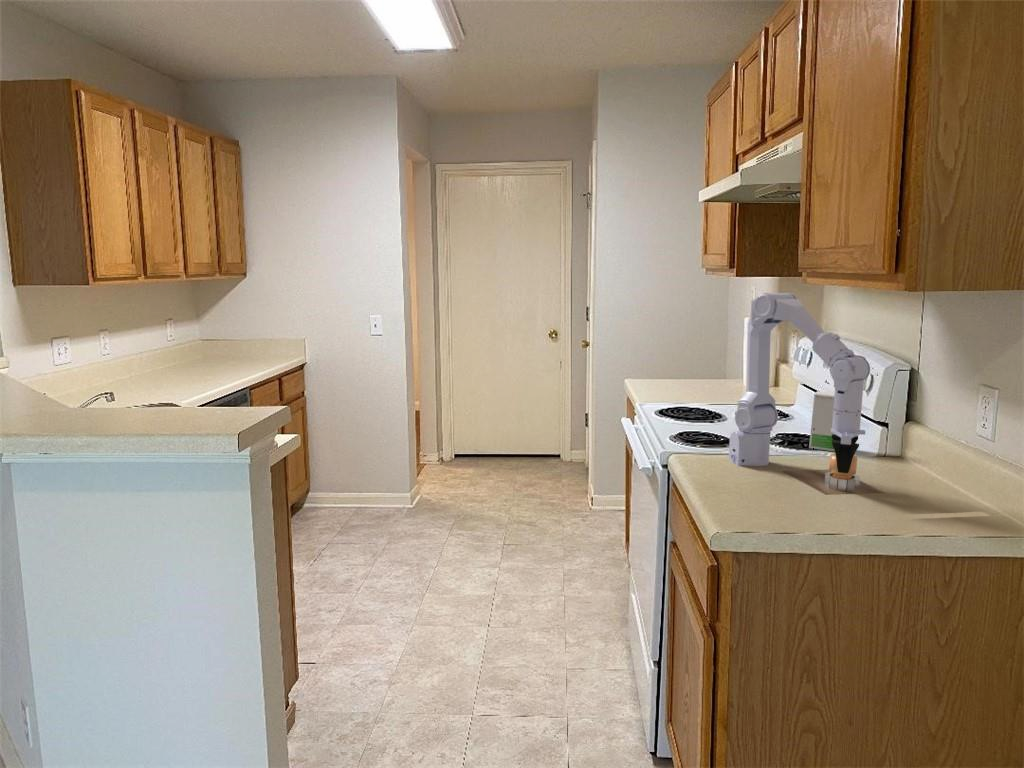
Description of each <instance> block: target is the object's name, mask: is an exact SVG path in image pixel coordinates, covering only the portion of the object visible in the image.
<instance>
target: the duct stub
mask: <svg viewBox="0 0 1024 768" xmlns="http://www.w3.org/2000/svg"><path fill="white" fill-rule="evenodd" d="M860 481H861V477H860V475H857V474H855V475H852V479H841V478H836V477H833V473H832V472H827V473H825V484H824V486H826V487H828V488H830V489H834V490H840V491H856V490H859V484H860Z"/></svg>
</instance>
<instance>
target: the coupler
mask: <svg viewBox="0 0 1024 768" xmlns="http://www.w3.org/2000/svg"><path fill="white" fill-rule="evenodd" d="M857 465H858V456H856V455H854V456H853V459H852V462H851V466H850V470H849V472H848V473H839V472H838V469H837V461H836V454H835V453H831V454H830V455H829V466H828V467H829V469H828V470H829V471H830V472H832V473H833V477H836V478H841V479H852V475H857Z"/></svg>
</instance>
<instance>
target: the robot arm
mask: <svg viewBox="0 0 1024 768" xmlns="http://www.w3.org/2000/svg"><path fill="white" fill-rule="evenodd" d="M750 303H751V305H750V315H749V318H748V321H747V331H746V332H747V337H746V339H747V340H746V342H747V343H746V345H747V346H746V347H747V348H746V383H745V384H746V386H745V387H746V388H745V393H744V394H743V395H742V397H740V398H739V400H738V401H737V409H736V411H735V414H734V420H735V421H734V422H735V425H736V426H737V428H738V430H737V431H731V433H730V436H729V445H728V448H729V449H728V461H730V462H731V463H733V464H735V465H736V466H740V467H741V466H742V467H743V466H746V467H747V466H754V467H755V466H756V467H764V466H768V465H769V464H770V462H769V461H770V445H771V432H772V431H773V427H774V426H776V424H777V423H778V420H779V413H778V410H777V406H776V399H775V398H774V397H773V395H772V394H770V377H771V375H770V372H771V370H770V368H771V367H770V366H771V364H770V363H771V335H772V334H771V331H772V330H774V329H775V328H776V327H777V326H778V325H779V324H780V323H782V322H789V323H791V324H792V325H793V326H794V327H795V328H796V329H797V330H799V331H800V332H801V333H802V334H803V335H804V337H806V338H808V339H809V340H810V342H812V351H813V352H814V353H815V354H816V355H817V356H818V357H819V358H820V360H822V362H823V363H825V364H826V366H828V368H830V370H829V372H830V377H831V378H832V380H833V388H834V393H835V396H834V409H833V423H832V428H831V432H832V433H834V434H832V438H833V440H832V445H833V448H834V450H835V451H834V454H836V461H837V469H838V472H839V473H848V472H849V470H850V466H851V462H852V459H853V456H855V453H856V452H857V451H858V449H859V447H860V443H857V442H858V441H859V436H860V435H862V436H863V435H866V430H865V429H861V421H862V418H861V417H862V408H863V396H864V395H863V392H864V382H865V380H866V379H867V378H868V377H869V376H870V374H871V365H870V363H869V361H868V360H867V358H866V357H865V356H863V355H859V354H857V355H856V354H855V352H854V351H853V349H849V348H848V347H847V346H846V344H845V343H843V341H842V340H841V336H840V335H839V334H838V333H836V334H834V332H825V331H824V330H823V328H822V327H821V326H820V325H819V324H818V323H817V321H816V320H815V319H814V318H813V317H812V316H811V314H810V313H809V312H808V311H807V310H806V308H805V307H804V306H803V301H802V300H801V299H799V298H798V297H797V296H796V294H794V293H792V292H789V291H788V292H779V293H778V292H771V293H770V292H762V293H759V294H758V295H757V296H756V297H755V298H754V299H753V300H751V301H750Z"/></svg>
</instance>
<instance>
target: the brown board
mask: <svg viewBox="0 0 1024 768" xmlns="http://www.w3.org/2000/svg"><path fill="white" fill-rule="evenodd" d="M782 472H783V473H784V474H786V475H788V476H790V477H792V478H794V479H796V480H798V481H799V482H801V483H803V484H804V485H807V486H809V487H811V488H812V489H813V490H814V489H815V490H816V491H818V492H820V493H821V494H824V495H853V494H858V495H859V494H884V493H885V491H882V490H881V489H879V488H877V487H874V486H872V485H870V484H867V483H865V482H863V481H861V480H860V484H859V490H856V491H840V490H834V489H830V488H828V487H826V486H824V484H825V473H827V472H830V471H829V469H807V470H805V469H802V470H801V469H799V470H797V469H796V470H782ZM885 494H886V493H885Z"/></svg>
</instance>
